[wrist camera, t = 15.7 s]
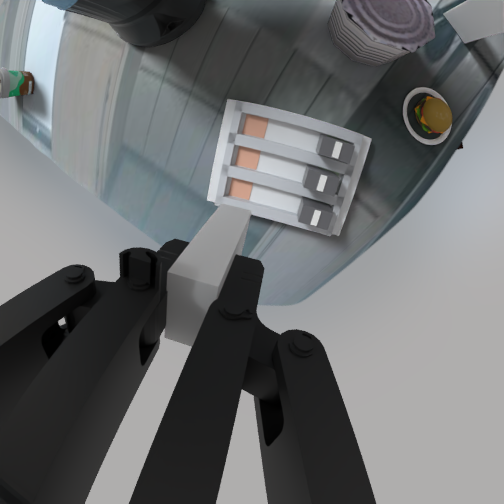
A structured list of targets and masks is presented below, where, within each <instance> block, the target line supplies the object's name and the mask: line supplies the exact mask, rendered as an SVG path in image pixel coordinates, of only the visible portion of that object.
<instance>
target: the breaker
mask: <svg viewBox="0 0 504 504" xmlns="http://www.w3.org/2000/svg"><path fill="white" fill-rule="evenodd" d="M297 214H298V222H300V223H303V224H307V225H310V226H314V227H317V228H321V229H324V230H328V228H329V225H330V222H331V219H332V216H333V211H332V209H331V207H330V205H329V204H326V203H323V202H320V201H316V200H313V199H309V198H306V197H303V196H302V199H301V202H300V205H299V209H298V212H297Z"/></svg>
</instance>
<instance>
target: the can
mask: <svg viewBox="0 0 504 504" xmlns="http://www.w3.org/2000/svg"><path fill="white" fill-rule="evenodd" d="M328 27H329V30H330V34H331V37H332V40H333V44H334V45H335V46H336V47H338V48H339V49H340V50H341V51H342V52H343V53H344V54H345V55H347V56H348V57H349V58H350V59H351V60H352V61H356V62H360V63H364V64H367V65H371V66H374V67H377V66H379V65H382V64H385V63H388V62H391V61H394V60H396V59H398V58H400V57H402V56H404V55H406V54H407V53H409V52H412V53H413V52H414V51H416V50H417V49H418V48H420V47H421V46H423V45H425V44H427V42H429V41H430V40H432V39H433V38H435V31H434V21H433V13H432V6H431V5H430V4H429V3H428V2H427V0H336V2H335V5H334V8H333V10H332V13H331V16H330V18H329V21H328Z"/></svg>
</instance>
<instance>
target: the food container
mask: <svg viewBox="0 0 504 504" xmlns="http://www.w3.org/2000/svg"><path fill="white" fill-rule="evenodd" d="M33 91H34V78H33V75H32V73H30V72H25V71H8V70H7V69H6V68H4V67H3V68H0V98H8V97H12V96H20V95H28V94H33Z"/></svg>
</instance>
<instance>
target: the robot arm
mask: <svg viewBox="0 0 504 504" xmlns="http://www.w3.org/2000/svg"><path fill="white" fill-rule="evenodd" d="M42 1H43V2H44V3H46V4H49V5H52V6H55V7H57V8H58V9H60V10H66V11H70V12H74V13H77V14H81V15H85V16H88V17H91V18H95V19H98V20H101V21H104V22H107V23H109V24H110V25H111V27H112V28H113V29H114V30H115V31H116V33H117V35H118V36H119V37H120V38H121V39H123V40H124V41H126V42H128V43H131V44H134V45H136V46H141V47H152V46H158V45H161V44H164V43H167V42H169V41H171V40H173V39H175V38H177V37H179V36H180V35H182V34H183V33H184V32H186V31H187V30H188V29H189V28H190V27H191V26H192V25H193V24H194V23H195V22H196V21H197V19H198V18H199V16H200V15H201V13H202V11H203V9H204V6H205V2H206V0H42ZM251 212H252V211H250V210H246V209H243V208H239V207H235V206H231V205H227V204H223V203H222V204H221V205H220V206H219V207H218V209H217V210H216V211H215V212H214V214H213V215H212V216H211V217H210V218H209V220H208V221H207V222H206V223H205V225H204V226H203V227H202V228H201V229H200V231H199V232H198V233H197V234H196V236H195V237H194V238H193V240H192V241H191V242H190V243H189V242H186V241H182V240H178V239H173V240H171V241H169V242H166V243H165V244H164V245H163V246H162V247H161V248H160V250H158V251H157V252H155V251H153V250H150V249H147V248H130V249H127V250H124V251H122V252H121V253H120V254H119V255H120V256H119V257H120V278H119V279H118V280H117V281H116V282H106V281H98V280H95V277H94V272H93V271H92V269H91V268H89V267H87V266H85V265H70V266H67V267H65V268H62V269H61V270H59V271H57V272H55V273H54V274H52V275H50V276H48V277H47V278H45V279H43V280H41V281H40V282H38V283H37V284H35V285H33V286H31V287H30V288H28V289H26V290H25V291H23V292H22V293H20V294H18V295H17V296H15V297H14V298H12V299H10V300H9V301H7V302H6V303H4V304H3V305H1V306H0V504H85V501H86V499H87V497H88V494H89V492H90V490H91V487H92V485H93V483H94V480H95V478H96V476H97V474H98V471H99V469H100V467H101V465H102V462H103V460H104V458H105V456H106V453H107V452H108V449H109V447H110V445H111V443H112V441H113V439H114V437H115V435H116V432H117V430H118V428H119V426H120V424H121V422H122V420H123V418H124V416H125V414H126V412H127V409H128V408H129V406H130V404H131V401H132V400H133V398H134V396H135V394H136V392H137V390H138V388H139V386H140V384H141V382H142V380H143V378H144V376H145V374H146V372H147V370H148V368H149V366H150V364H151V362H152V360H153V358H154V356H155V354H156V353H157V351H158V349H159V344H160V335H161V333H162V332H163V330H164V328H165V338H168V339H171V340H174V341H177V342H180V343H183V344H186V345H189V346H192V348H191V351H190V353H189V355H188V358H187V360H186V362H185V365H184V367H183V370H182V372H181V375H180V377H179V379H178V382H177V384H176V386H175V389H174V391H173V394H172V396H171V399H170V401H169V403H168V406H167V408H166V411H165V413H164V416H163V418H162V421H161V423H160V426H159V428H158V431H157V433H156V435H155V438H154V441H153V443H152V445H151V448H150V451H149V453H148V456H147V458H146V461H145V463H144V466H143V469H142V471H141V474H140V476H139V479H138V481H137V484H136V486H135V489H134V492H133V494H132V497H131V500H130V502H129V504H216V500H217V496H218V492H219V488H220V483H221V479H222V475H223V471H224V466H225V462H226V457H227V453H228V449H229V444H230V440H231V435H232V430H233V426H234V422H235V417H236V413H237V408H238V403H239V398H240V394H241V390H242V389H243V390H245V391H247V392H248V393H250V394H252V395H254V402H255V410H256V419H257V426H258V434H259V442H260V449H261V457H262V464H263V471H264V478H265V486H266V493H267V500H268V504H376V501H375V498H374V495H373V491H372V488H371V484H370V481H369V478H368V475H367V471H366V468H365V465H364V462H363V459H362V455H361V452H360V449H359V446H358V443H357V440H356V437H355V434H354V431H353V428H352V425H351V422H350V419H349V416H348V413H347V410H346V407H345V404H344V402H343V399H342V396H341V393H340V390H339V387H338V385H337V382H336V379H335V376H334V374H333V371H332V368H331V365H330V362H329V360H328V357H327V354H326V352H325V349H324V347H323V345H322V343H321V342H320V340H318V339H317V338H316V337H315V336H314V335H312V334H310V333H308V332H306V331H302V330H297V329H296V330H288V331H286V332H284V333H282V334H281V335H280V334H278V333H276V332H274V331H272V330H270V329H269V328H267V327H265V325H264V324H262V323H261V321H260V320H259V318H258V316H257V313H256V309H257V304H258V299H259V294H260V289H261V283H262V278H263V273H264V267H263V265H262V263H261V261H259V260H256V259H252V258H248V257H244V256H241V254H242V249H243V245H244V241H245V237H246V233H247V229H248V224H249V220H250V216H251ZM63 317H64V318H65V322H66V324H64V325H61V326H60V325H59V324H58V321H59V320H60V319H62V318H63Z"/></svg>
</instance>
